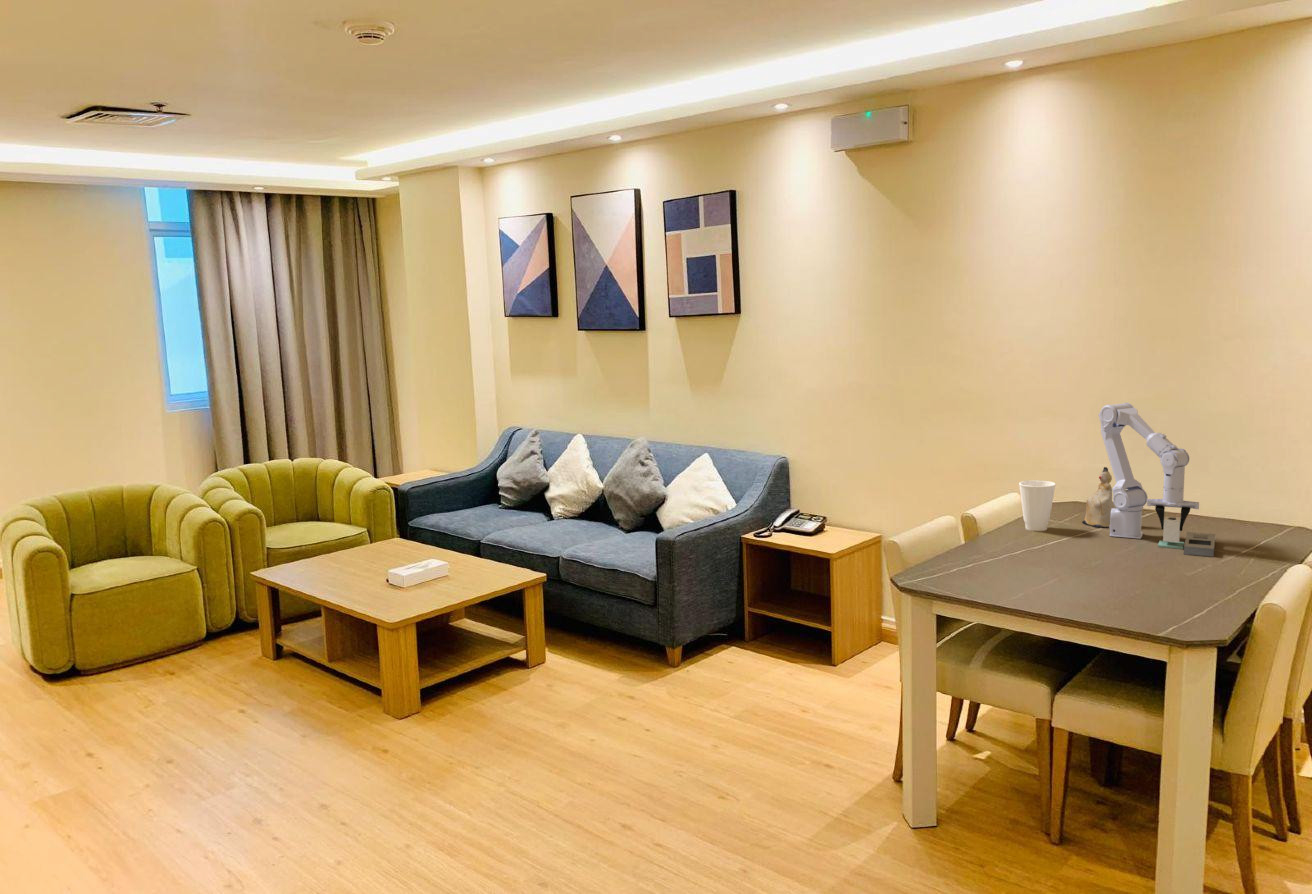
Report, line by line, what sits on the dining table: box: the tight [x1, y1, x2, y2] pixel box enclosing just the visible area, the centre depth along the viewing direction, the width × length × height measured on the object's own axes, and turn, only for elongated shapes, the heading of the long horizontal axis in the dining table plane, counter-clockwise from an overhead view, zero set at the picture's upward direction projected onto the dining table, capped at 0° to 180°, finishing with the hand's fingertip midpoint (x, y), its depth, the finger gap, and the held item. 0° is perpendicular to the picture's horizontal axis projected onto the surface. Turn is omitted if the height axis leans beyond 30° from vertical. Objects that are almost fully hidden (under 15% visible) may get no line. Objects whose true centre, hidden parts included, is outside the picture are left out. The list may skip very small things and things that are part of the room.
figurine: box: [1081, 466, 1117, 529], centre depth 348 cm, size 12×10×20 cm
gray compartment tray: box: [1183, 531, 1216, 558], centre depth 314 cm, size 8×20×3 cm, turn 150°
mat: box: [1157, 539, 1185, 550], centre depth 318 cm, size 7×7×1 cm
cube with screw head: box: [1162, 516, 1181, 542], centre depth 317 cm, size 4×4×7 cm
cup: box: [1018, 479, 1057, 532], centre depth 345 cm, size 12×12×16 cm
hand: (1171, 529), depth 317 cm, fingers closed on cube with screw head, 4 cm apart
